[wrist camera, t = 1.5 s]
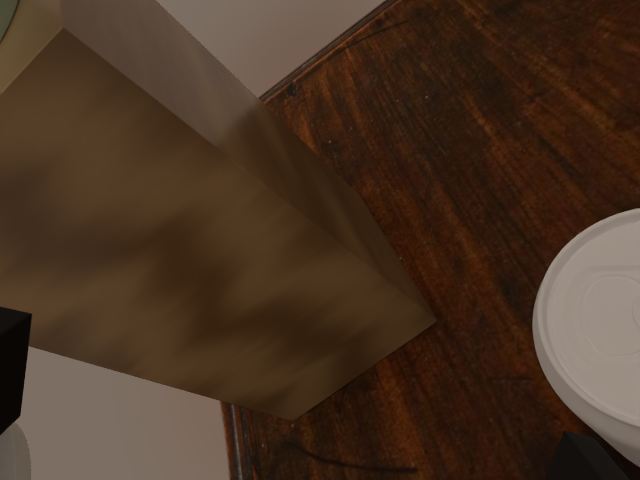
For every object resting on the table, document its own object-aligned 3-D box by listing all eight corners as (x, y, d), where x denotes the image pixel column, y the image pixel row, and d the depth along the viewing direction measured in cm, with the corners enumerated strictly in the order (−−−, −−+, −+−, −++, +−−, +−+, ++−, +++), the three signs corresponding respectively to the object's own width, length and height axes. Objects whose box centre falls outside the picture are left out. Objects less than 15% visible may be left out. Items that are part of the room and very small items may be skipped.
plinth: (292, 421, 36) (-182, 286, 17) (247, 289, 44) (-114, 95, 25) (438, 321, 33) (62, 26, 14) (362, 198, 41) (53, -99, 22)
